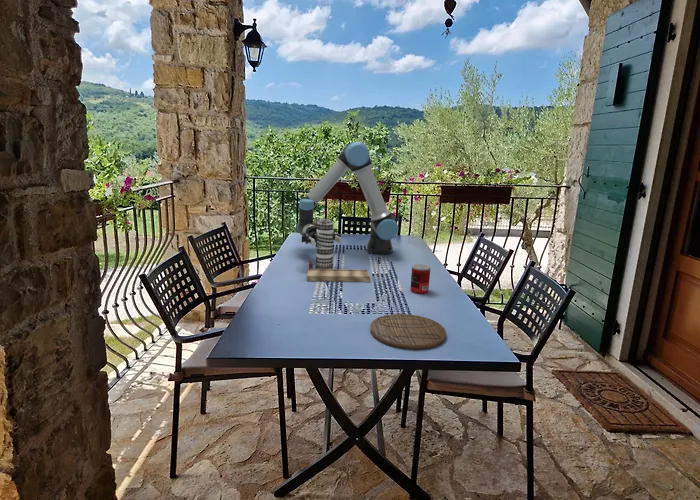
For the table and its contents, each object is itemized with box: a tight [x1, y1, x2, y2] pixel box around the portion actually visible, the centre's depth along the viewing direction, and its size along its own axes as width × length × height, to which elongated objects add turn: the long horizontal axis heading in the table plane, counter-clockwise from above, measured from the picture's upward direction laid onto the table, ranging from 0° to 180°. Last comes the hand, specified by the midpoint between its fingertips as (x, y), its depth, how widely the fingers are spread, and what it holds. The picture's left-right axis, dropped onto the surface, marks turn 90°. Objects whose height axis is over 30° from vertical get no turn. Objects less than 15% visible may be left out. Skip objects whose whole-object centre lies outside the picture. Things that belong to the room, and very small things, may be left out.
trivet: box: [369, 313, 447, 351], centre depth 146 cm, size 25×25×2 cm
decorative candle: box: [314, 218, 336, 269], centre depth 208 cm, size 9×9×25 cm
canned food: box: [409, 263, 431, 295], centre depth 186 cm, size 8×8×11 cm
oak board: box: [306, 268, 371, 283], centre depth 201 cm, size 28×11×3 cm, turn 95°
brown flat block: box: [308, 260, 314, 269], centre depth 210 cm, size 2×6×4 cm, turn 5°
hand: (327, 241), depth 205 cm, fingers open, 13 cm apart
